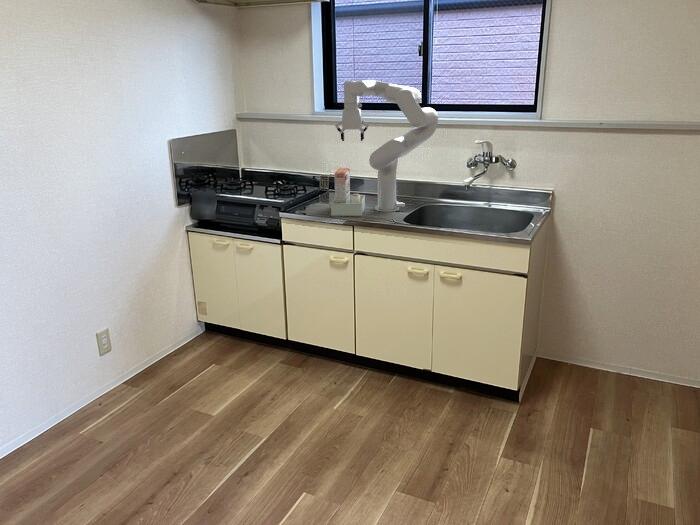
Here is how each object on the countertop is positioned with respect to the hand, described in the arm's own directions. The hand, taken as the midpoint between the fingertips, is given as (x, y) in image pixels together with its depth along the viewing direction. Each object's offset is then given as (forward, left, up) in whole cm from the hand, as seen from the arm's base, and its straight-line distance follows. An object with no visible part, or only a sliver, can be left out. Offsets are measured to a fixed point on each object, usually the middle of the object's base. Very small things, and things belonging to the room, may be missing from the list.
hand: (352, 140), depth 292 cm
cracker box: (+4, +13, -34) cm, 37 cm away
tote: (+2, +13, -34) cm, 37 cm away
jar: (-2, +13, -34) cm, 36 cm away
